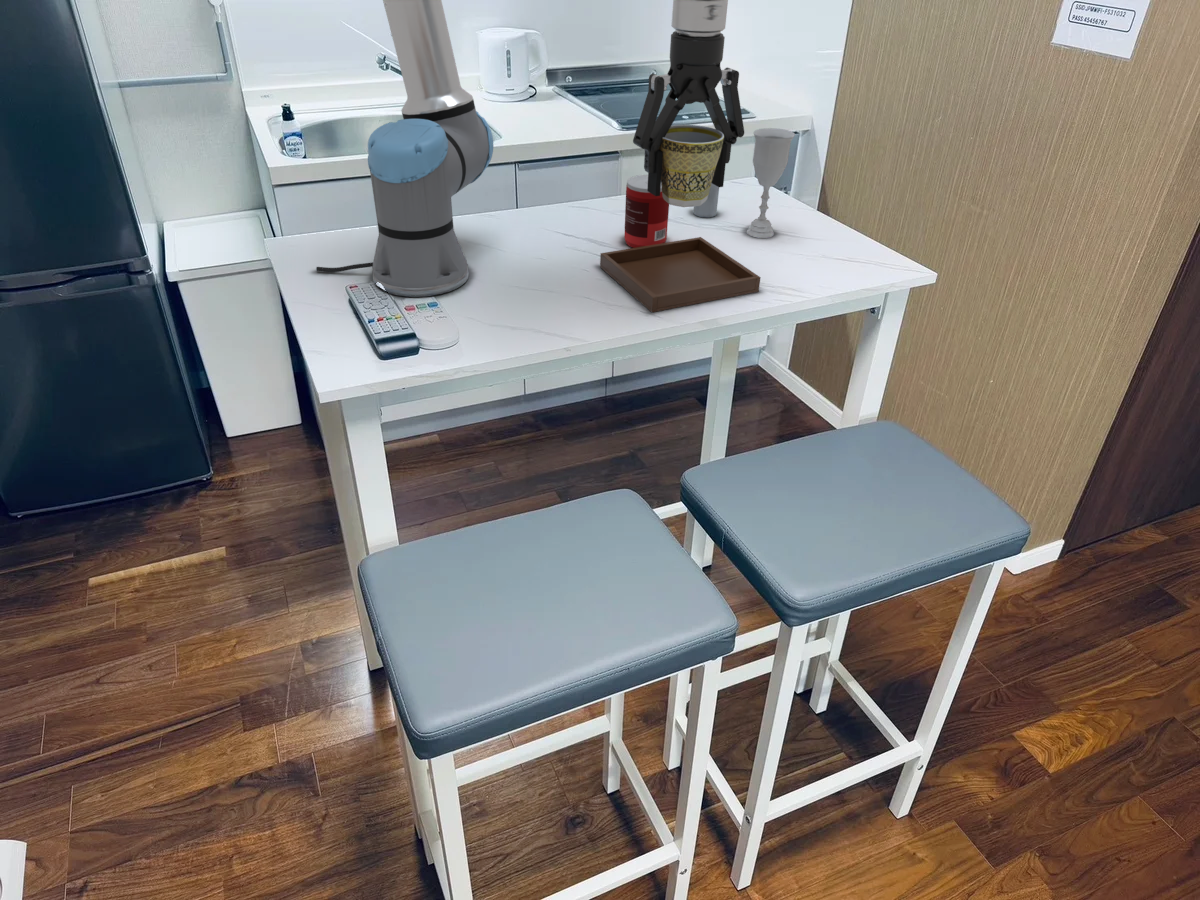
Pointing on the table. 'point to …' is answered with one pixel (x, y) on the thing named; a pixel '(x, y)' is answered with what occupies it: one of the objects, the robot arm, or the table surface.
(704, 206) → the gray cylinder
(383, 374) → the table surface
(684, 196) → the ceramic cup
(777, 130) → the chalice
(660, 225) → the canned food
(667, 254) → the tray
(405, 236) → the robot arm
